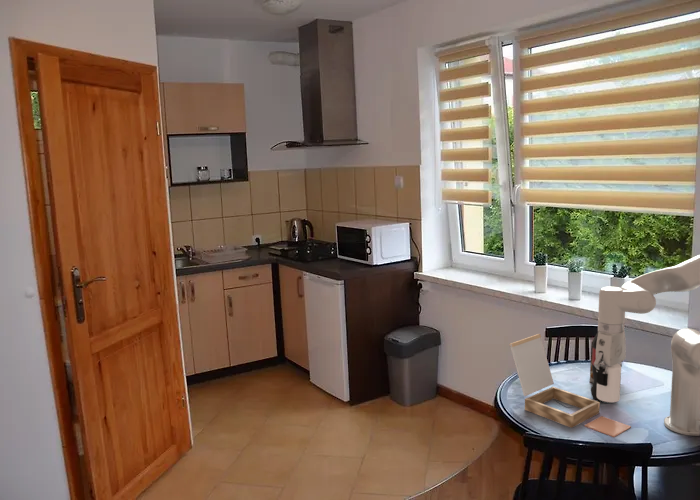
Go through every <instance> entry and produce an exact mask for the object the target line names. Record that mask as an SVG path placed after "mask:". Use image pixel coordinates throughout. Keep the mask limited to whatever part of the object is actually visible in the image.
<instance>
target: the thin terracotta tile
mask: <svg viewBox="0 0 700 500" xmlns="http://www.w3.org/2000/svg"><path fill="white" fill-rule="evenodd" d="M583 426H584V427H585V428H588V429H591V430H594V431H596V432H599V433H601V434H603V435H606V436H608V437H612V438H616V437H617V436H619V435H621V434H622V433H625V432H626V431H627V430H629V429H631V428H632V426H631V425H629V424H625V423H622V422H620V421H616V420H614V419H611V418H608V417H606V416H603V415H601V416H598V417H597V418H595V419H593V420H591V421H590V422H588V423H586V424H584V425H583Z"/></svg>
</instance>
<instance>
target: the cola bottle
mask: <svg viewBox="0 0 700 500" xmlns="http://www.w3.org/2000/svg"><path fill="white" fill-rule="evenodd" d="M597 337H598V331H597V333H596V334H595V336H594V337H593V338H594V339H593V338H592V340H593V342H592V341H591V342H592V347H593V354H592V372H593V379H594V381H593V383H592V384H591V387H590V394H591V398H592V400H595V401H598V402H600V404H601V403H602V404H610V403H612V402H604V401H601V400H599V399H598V398H597V396H596V393H597V371H596V368H595V366H594V362H595V360H596V344H597Z"/></svg>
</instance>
